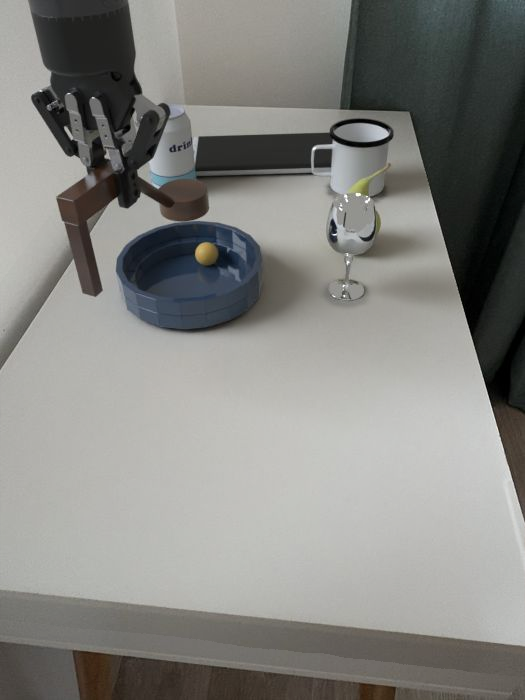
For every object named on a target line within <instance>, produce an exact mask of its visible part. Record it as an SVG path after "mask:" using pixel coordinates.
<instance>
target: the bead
mask: <svg viewBox="0 0 525 700" xmlns="http://www.w3.org/2000/svg"><path fill="white" fill-rule="evenodd" d="M195 256H196V259H197V261H198V262H199V263H200V264H202V265H205V266H209V265H212V264H214V263H215V262H216V261H217V259H218V249H217V248H216V246H215V245H214V244H212V243H209V242H204V243H202V244H200V245H199V246H198V247H197V249H196V251H195Z"/></svg>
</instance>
